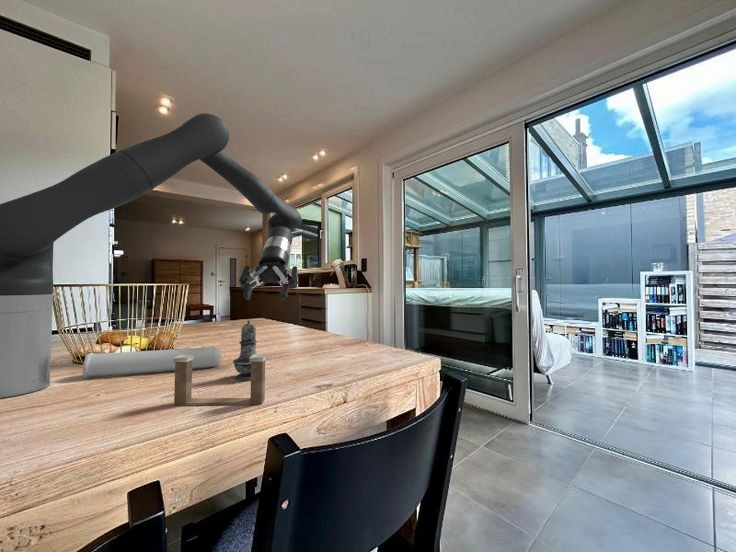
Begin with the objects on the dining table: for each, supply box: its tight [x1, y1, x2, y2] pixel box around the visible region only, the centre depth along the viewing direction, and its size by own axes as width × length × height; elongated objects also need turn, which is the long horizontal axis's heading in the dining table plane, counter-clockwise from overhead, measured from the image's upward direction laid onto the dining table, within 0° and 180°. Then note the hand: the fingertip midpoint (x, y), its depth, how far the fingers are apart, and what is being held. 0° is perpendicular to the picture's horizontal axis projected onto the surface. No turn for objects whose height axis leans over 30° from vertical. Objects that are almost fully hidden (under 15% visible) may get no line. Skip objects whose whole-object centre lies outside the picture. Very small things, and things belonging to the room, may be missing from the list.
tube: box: [82, 346, 222, 380], centre depth 70 cm, size 5×5×25 cm
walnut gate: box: [173, 354, 268, 406], centre depth 52 cm, size 14×2×8 cm, turn 93°
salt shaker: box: [232, 319, 258, 382], centre depth 66 cm, size 6×6×12 cm
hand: (264, 298), depth 78 cm, fingers open, 8 cm apart
